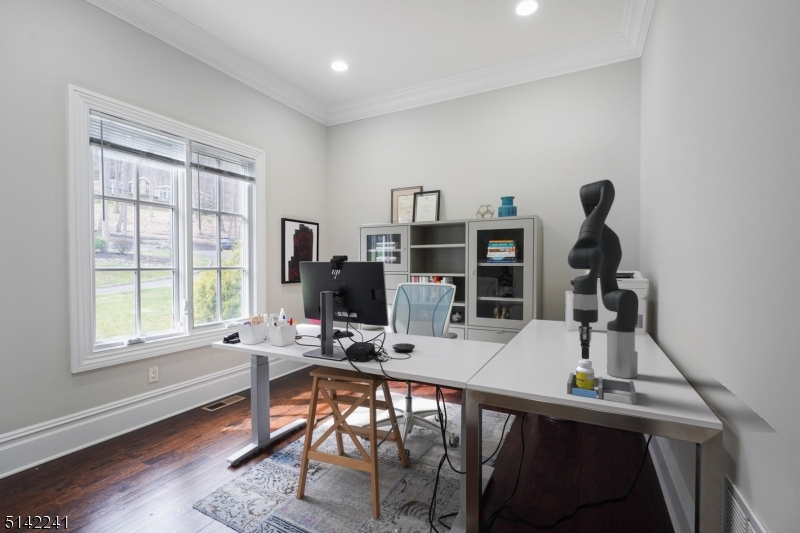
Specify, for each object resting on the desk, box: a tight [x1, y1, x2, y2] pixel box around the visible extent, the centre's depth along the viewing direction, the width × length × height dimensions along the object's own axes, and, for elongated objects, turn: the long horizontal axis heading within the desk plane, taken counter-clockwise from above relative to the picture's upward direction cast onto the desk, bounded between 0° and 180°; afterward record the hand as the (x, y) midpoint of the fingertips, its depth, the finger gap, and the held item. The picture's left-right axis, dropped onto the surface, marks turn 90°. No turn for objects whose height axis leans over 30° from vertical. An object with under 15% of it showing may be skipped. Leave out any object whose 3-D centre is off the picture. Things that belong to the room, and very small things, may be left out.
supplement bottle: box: [575, 359, 595, 391], centre depth 122 cm, size 5×5×10 cm
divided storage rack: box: [566, 372, 637, 406], centre depth 119 cm, size 19×13×4 cm
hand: (585, 358), depth 122 cm, fingers closed
